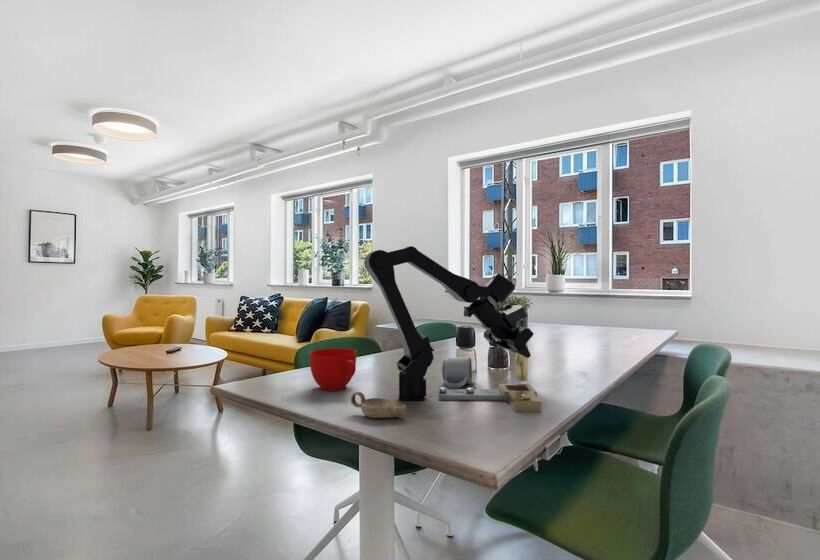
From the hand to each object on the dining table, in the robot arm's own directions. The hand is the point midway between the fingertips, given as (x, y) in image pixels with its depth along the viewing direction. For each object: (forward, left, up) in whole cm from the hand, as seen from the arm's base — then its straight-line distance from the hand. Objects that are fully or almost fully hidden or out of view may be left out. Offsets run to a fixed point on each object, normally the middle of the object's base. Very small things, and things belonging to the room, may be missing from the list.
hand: (526, 355), depth 120 cm
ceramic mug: (-19, +4, -9) cm, 21 cm away
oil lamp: (-38, -25, -9) cm, 47 cm away
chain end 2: (-4, -13, -9) cm, 17 cm away
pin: (-1, 0, -7) cm, 7 cm away
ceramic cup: (-52, -2, -9) cm, 53 cm away
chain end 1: (-12, -9, -9) cm, 18 cm away
